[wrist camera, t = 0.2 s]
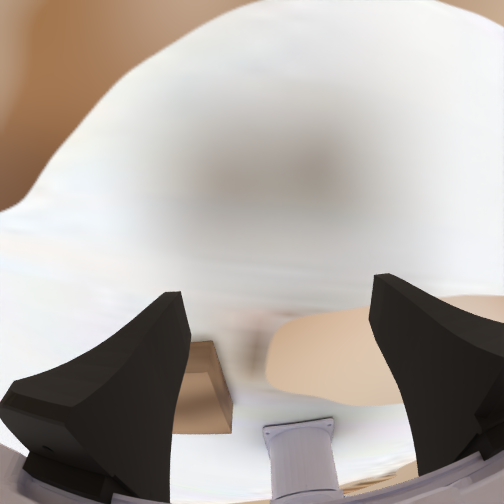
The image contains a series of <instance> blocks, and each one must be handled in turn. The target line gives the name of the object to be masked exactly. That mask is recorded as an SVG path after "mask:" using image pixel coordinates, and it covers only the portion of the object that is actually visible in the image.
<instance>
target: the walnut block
mask: <svg viewBox="0 0 504 504" xmlns="http://www.w3.org/2000/svg"><path fill="white" fill-rule="evenodd" d="M232 413H233V403H232V400H231V397H230V394H229V391H228V388H227V385H226V382H225V379H224V376H223V373H222V370H221V367H220V364H219V360H218V357H217V354H216V351H215V347H214V344H213V341H205V342H192V343H190V350H189V358H188V362H187V365H186V369H185V373H184V377H183V381H182V385H181V388H180V392H179V396H178V400H177V404H176V409H175V414H174V423H173V431H172V434H231V433H232Z"/></svg>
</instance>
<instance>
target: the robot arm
mask: <svg viewBox="0 0 504 504" xmlns="http://www.w3.org/2000/svg"><path fill="white" fill-rule="evenodd" d="M369 322H370V325H371V328H372V331H373V334H374V337H375V340H376V342H377V344H378V346H379V348H380V350H381V352H382V354H383V356H384V358H385V360H386V362H387V364H388V366H389V368H390V370H391V372H392V374H393V377H394V379H395V380H396V383H397V385H398V388H399V390H400V393H401V396H402V399H403V402H404V405H405V409H406V412H407V416H408V420H409V424H410V427H411V432H412V436H413V441H414V447H415V452H416V459H417V466H418V475H419V477H417V478H414V479H411V480H408V481H405V482H403V483H399V484H396V485H393V486H389V487H386V488H382V489H379V490H375V491H371V492H367V493H363V494H359V495H354V496H350V495H347V496H344V495H343V490H340V489H339V484H338V478H337V473H336V468H335V463H334V458H333V453H332V448H331V443H332V435H333V427H334V420H333V418H328V419H322V420H316V421H310V422H303V423H296V424H288V425H280V426H270V427H265V428H263V434H264V438H265V442H266V446H267V450H268V454H269V458H270V463H271V483H272V500H270V504H504V323H501V322H497V321H493V320H490V319H487V318H483V317H480V316H477V315H474V314H472V313H469V312H466V311H464V310H461V309H459V308H457V307H454V306H452V305H450V304H448V303H446V302H444V301H441V300H440V299H438V298H436V297H434V296H432V295H430V294H428V293H426V292H424V291H423V290H421V289H419V288H417V287H415V286H413V285H412V284H410V283H408V282H406V281H404V280H402V279H400V278H398V277H396V276H394V275H392V274H389V273H386V274H378V275H374V282H373V290H372V298H371V305H370V312H369ZM190 342H191V332H190V328H189V324H188V320H187V316H186V312H185V308H184V304H183V299H182V295H181V291H178V292H165V293H163V294H162V295H161V296H159V297H158V298H157V299H156V300H155V301H153V302H152V303H151V304H150V305H149V306H148V307H147V308H145V309H144V310H143V311H142V312H141V313H140V314H139V315H137V316H136V317H135V318H134V319H133V320H132V321H130V322H129V323H128V324H126V325H125V326H124V327H123V328H121V329H120V330H119V331H118V332H116V333H115V334H114V335H112V336H111V337H110V338H108V339H107V340H105V341H104V342H102V343H101V344H99V345H98V346H96V347H95V348H93V349H91V350H90V351H88V352H86V353H84V354H82V355H80V356H78V357H77V358H75V359H73V360H71V361H69V362H67V363H65V364H62V365H60V366H58V367H56V368H53V369H51V370H48V371H45V372H43V373H40V374H37V375H33V376H30V377H27V378H23V379H20V380H16V381H14V382H13V383H12V385H11V386H10V388H9V389H8V391H7V392H6V394H5V395H4V397H3V399H2V400H1V402H0V418H1V420H2V421H3V423H4V424H5V425H6V427H7V428H8V429H9V430H10V431H11V432H12V433H13V434H14V435H15V437H16V438H17V439H18V440H19V441H20V442H21V443H22V444H23V445H24V446H25V447H26V448H27V449H28V450H29V451H30V452H29V454H28V457H25V456H24V455H22V454H21V453H19V452H17V451H15V450H13V449H11V448H9V447H7V446H5V445H3V444H1V443H0V504H170V455H171V442H172V431H173V423H174V414H175V409H176V404H177V400H178V396H179V392H180V388H181V385H182V381H183V377H184V373H185V369H186V365H187V362H188V358H189V350H190Z"/></svg>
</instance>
